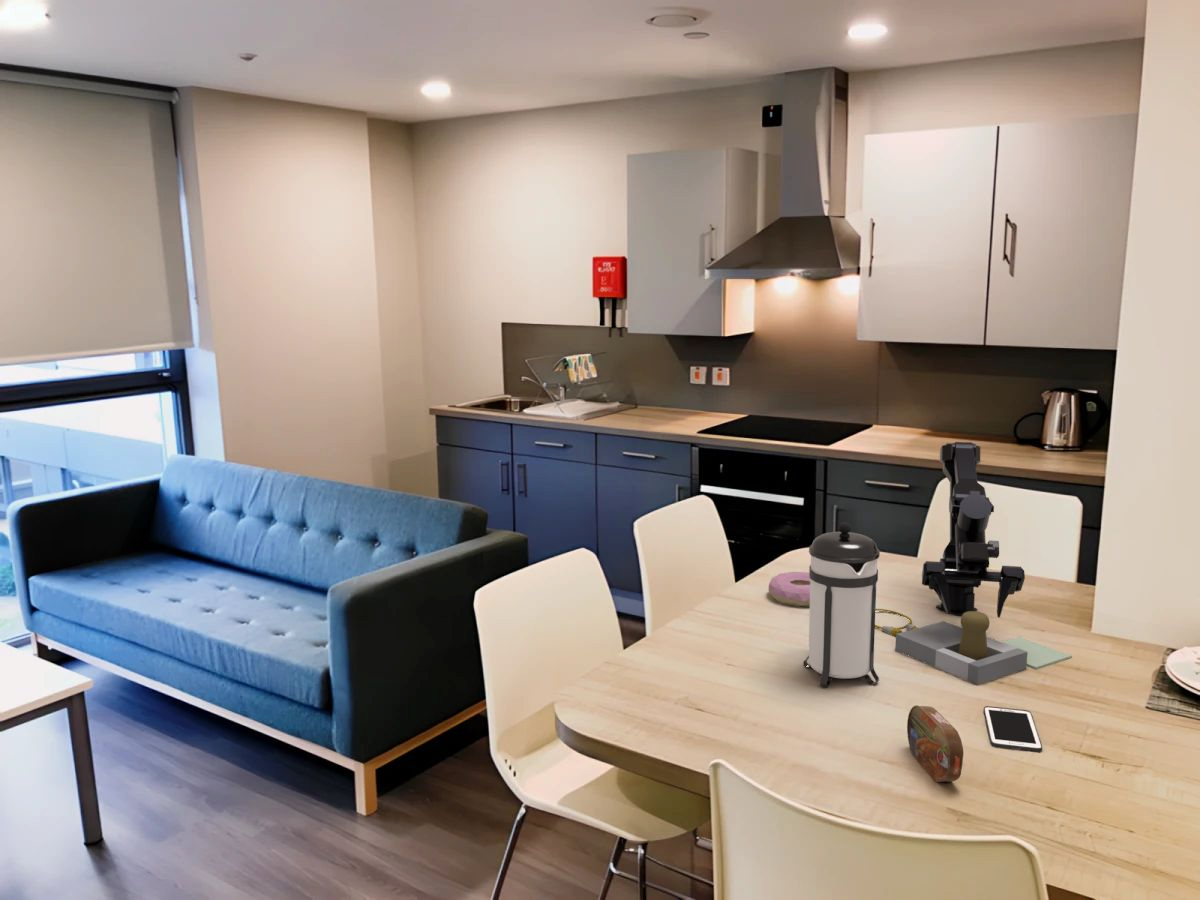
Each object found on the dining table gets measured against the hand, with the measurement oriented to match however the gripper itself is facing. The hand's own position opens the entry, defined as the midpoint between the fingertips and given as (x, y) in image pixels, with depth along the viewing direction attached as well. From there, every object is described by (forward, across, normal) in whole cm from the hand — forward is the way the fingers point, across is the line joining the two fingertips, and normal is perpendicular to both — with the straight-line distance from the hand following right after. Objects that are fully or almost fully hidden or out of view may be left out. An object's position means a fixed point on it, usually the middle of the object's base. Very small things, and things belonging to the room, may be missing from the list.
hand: (973, 614), depth 189 cm
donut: (-16, -35, +30) cm, 48 cm away
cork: (+9, 0, +5) cm, 10 cm away
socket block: (+6, -2, +8) cm, 10 cm away
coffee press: (+15, -25, -1) cm, 29 cm away
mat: (+2, +11, +12) cm, 17 cm away
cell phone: (+28, +4, -13) cm, 31 cm away
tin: (+39, -10, -24) cm, 47 cm away
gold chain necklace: (-6, -15, +21) cm, 26 cm away
